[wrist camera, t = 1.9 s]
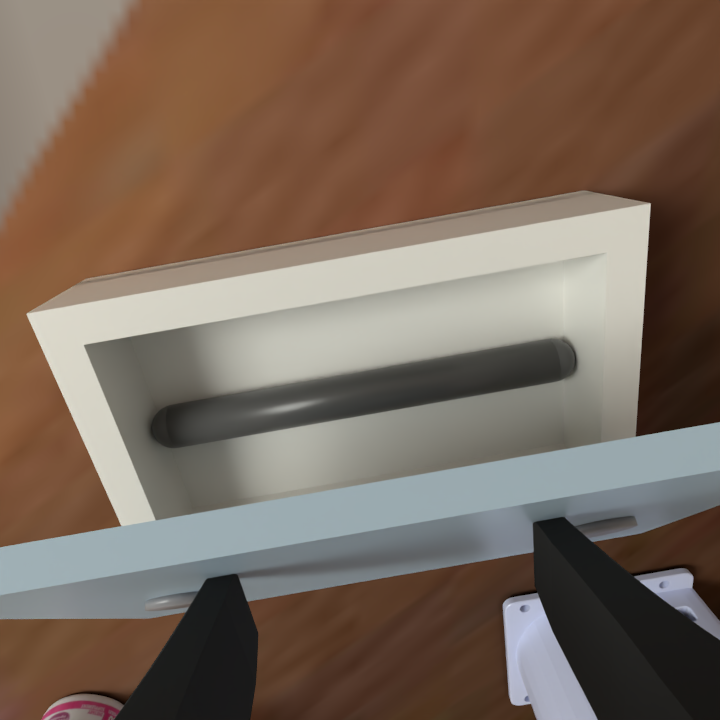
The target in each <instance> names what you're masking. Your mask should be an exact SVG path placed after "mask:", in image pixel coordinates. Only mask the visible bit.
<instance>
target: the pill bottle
mask: <svg viewBox="0 0 720 720" xmlns="http://www.w3.org/2000/svg"><path fill="white" fill-rule="evenodd" d="M123 706H124V705H123V704H122V703H120V702H118V701H117V700H114V699H112V698H109V697H106V696H101V695H95V694H75V695H70V696H67V697H64V698H62V699H60V700H58V701H56V702H55V703H54V704H52V705H51V706H50V707H49V709H48V710H47V711H46V713H45V715H44V716H43V718H42V720H114V719H115V717H116V716H117V714H118V713H119V712H120V710H121V709H122V708H123Z"/></svg>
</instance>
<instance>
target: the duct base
mask: <svg viewBox="0 0 720 720" xmlns="http://www.w3.org/2000/svg"><path fill="white" fill-rule="evenodd" d="M650 207H651V203H646V202H641V201H636V200H631V199H626V198H621V197H616V196H611V195H605V194H600V193H595V192H590V191H579V192H573V193H568V194H562V195H556V196H551V197H545V198H539V199H534V200H528V201H522V202H517V203H511V204H506V205H500V206H494V207H489V208H483V209H477V210H472V211H466V212H460V213H455V214H449V215H443V216H438V217H432V218H426V219H421V220H415V221H409V222H404V223H398V224H393V225H387V226H381V227H376V228H370V229H364V230H359V231H353V232H347V233H342V234H336V235H330V236H325V237H319V238H313V239H308V240H302V241H296V242H291V243H285V244H280V245H274V246H268V247H263V248H257V249H251V250H246V251H240V252H234V253H229V254H223V255H217V256H212V257H206V258H200V259H195V260H189V261H183V262H178V263H172V264H167V265H161V266H155V267H150V268H144V269H138V270H133V271H127V272H121V273H116V274H110V275H104V276H99V277H93V278H87V279H85V280H83V281H81V282H80V283H78V284H76V285H75V286H73V287H71V288H69V289H68V290H66V291H64V292H63V293H61V294H59V295H57V296H56V297H54V298H52V299H51V300H49V301H47V302H45V303H44V304H42V305H40V306H39V307H37V308H35V309H33V310H32V311H30V312H28V313H27V316H28V319H29V321H30V323H31V325H32V327H33V330H34V332H35V334H36V336H37V339H38V341H39V343H40V345H41V348H42V350H43V352H44V354H45V356H46V359H47V361H48V363H49V365H50V368H51V370H52V372H53V374H54V376H55V379H56V381H57V383H58V385H59V388H60V390H61V392H62V394H63V397H64V399H65V401H66V403H67V405H68V408H69V410H70V412H71V414H72V417H73V419H74V421H75V423H76V425H77V428H78V430H79V432H80V434H81V437H82V439H83V441H84V443H85V446H86V448H87V450H88V452H89V454H90V457H91V459H92V461H93V463H94V466H95V468H96V470H97V472H98V475H99V477H100V479H101V481H102V483H103V486H104V488H105V490H106V492H107V495H108V497H109V499H110V501H111V503H112V506H113V508H114V510H115V512H116V515H117V517H118V519H119V521H120V524H121V526H126V525H132V524H138V523H144V522H149V521H155V520H161V519H167V518H172V517H178V516H184V515H190V514H195V513H201V512H207V511H213V510H218V509H224V508H230V507H236V506H241V505H247V504H253V503H259V502H264V501H270V500H276V499H282V498H287V497H293V496H299V495H305V494H310V493H316V492H322V491H328V490H333V489H339V488H345V487H350V486H356V485H362V484H368V483H373V482H379V481H385V480H391V479H396V478H402V477H408V476H414V475H419V474H425V473H431V472H437V471H442V470H448V469H454V468H460V467H465V466H471V465H477V464H483V463H488V462H494V461H500V460H506V459H511V458H517V457H523V456H529V455H534V454H540V453H546V452H552V451H557V450H563V449H569V448H575V447H580V446H586V445H592V444H598V443H603V442H609V441H615V440H620V439H626V438H632V437H636V423H637V408H638V392H639V377H640V361H641V346H642V330H643V315H644V299H645V284H646V268H647V253H648V238H649V222H650Z"/></svg>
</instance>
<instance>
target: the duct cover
mask: <svg viewBox="0 0 720 720" xmlns="http://www.w3.org/2000/svg"><path fill="white" fill-rule="evenodd" d="M718 505H720V422H718V423H712V424H707V425H701V426H695V427H689V428H684V429H678V430H672V431H666V432H661V433H655V434H649V435H643V436H638V437H632V438H626V439H620V440H615V441H609V442H603V443H598V444H592V445H586V446H580V447H575V448H569V449H563V450H557V451H552V452H546V453H540V454H534V455H529V456H523V457H517V458H511V459H506V460H500V461H494V462H488V463H483V464H477V465H471V466H465V467H460V468H454V469H448V470H442V471H437V472H431V473H425V474H419V475H414V476H408V477H402V478H396V479H391V480H385V481H379V482H373V483H368V484H362V485H356V486H350V487H345V488H339V489H333V490H328V491H322V492H316V493H310V494H305V495H299V496H293V497H287V498H282V499H276V500H270V501H264V502H259V503H253V504H247V505H241V506H236V507H230V508H224V509H218V510H213V511H207V512H201V513H195V514H190V515H184V516H178V517H172V518H167V519H161V520H155V521H149V522H144V523H138V524H132V525H126V526H121V527H115V528H109V529H103V530H98V531H92V532H86V533H80V534H75V535H69V536H63V537H57V538H52V539H46V540H40V541H35V542H29V543H23V544H17V545H12V546H6V547H0V619H111V618H155V617H160V616H166V615H172V614H178V613H183V612H186V611H187V610H188V608H189V606H190V605H191V603H192V601H193V600H194V598H195V596H196V595H197V593H198V591H199V590H200V588H201V586H202V585H203V583H204V582H205V580H206V579H207V578H213V577H219V576H225V575H230V574H237V575H238V577H239V580H240V582H241V585H242V588H243V591H244V594H245V597H246V600H247V601H253V600H259V599H264V598H270V597H276V596H282V595H288V594H293V593H299V592H305V591H311V590H316V589H322V588H328V587H334V586H340V585H345V584H351V583H357V582H363V581H368V580H374V579H380V578H386V577H392V576H397V575H403V574H409V573H415V572H420V571H426V570H432V569H438V568H444V567H449V566H455V565H461V564H467V563H473V562H478V561H484V560H490V559H496V558H501V557H507V556H513V555H519V554H525V553H530V552H534V547H533V523H534V522H536V521H542V520H548V519H553V518H559V517H565V518H566V519H567V520H568V521H569V522H570V523H571V524H573V525H574V526H575V527H576V528H577V529H578V530H579V531H580V532H582V533H583V534H584V535H585V536H586V537H587V538H588V539H590V540H591V541H592V542H594V541H600V540H606V539H611V538H617V537H623V536H629V535H634V534H640V533H643V532H646V531H649V530H652V529H655V528H657V527H660V526H663V525H666V524H668V523H671V522H674V521H677V520H680V519H682V518H685V517H688V516H691V515H693V514H696V513H699V512H702V511H705V510H707V509H710V508H713V507H716V506H718Z"/></svg>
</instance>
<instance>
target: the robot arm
mask: <svg viewBox="0 0 720 720" xmlns="http://www.w3.org/2000/svg"><path fill="white" fill-rule="evenodd" d="M533 547H534V577H535V587H536V590H537V593H534V594H528V595H522V596H516V597H511V598H508V599H507V600H505V602H504V603H503V617H504V631H505V646H506V660H507V675H508V689H509V697H510V700H511V703H512V704H514V705H525V704H531V705H532V707H533V710H534V713H535V716H536V718H537V720H720V621H719V620H718V619H717V617H716V616H715V615H714V614H713V612H712V611H711V610H710V609H709V608H708V606H707V605H706V604H705V603H704V601H703V600H702V599H701V598H700V597H699V595H698V594H697V593H696V592H695V590H694V589H693V588H692V586H693V579H694V578H693V575H692V574H691V573H690V572H689V571H688V569H685V568H679V569H673V570H667V571H661V572H656V573H650V574H644V575H638V576H632V575H631V574H630V573H629V572H627V571H626V570H625V569H624V568H622V567H621V566H620V565H619V564H618V563H616V562H615V561H614V560H613V559H612V558H610V557H609V556H608V555H607V554H606V553H605V552H603V551H602V550H601V549H600V548H599V547H598V546H596V545H595V544H594V543H593V542H592V541H591V540H590V539H588V538H587V537H586V536H585V535H584V534H583V533H582V532H580V531H579V530H578V529H577V528H576V527H575V526H574V525H573V524H571V523H570V522H569V521H568V520H567V519H566V518H565V517H559V518H553V519H548V520H542V521H536V522H534V523H533ZM257 652H258V631H257V628H256V625H255V623H254V620H253V617H252V614H251V611H250V608H249V605H248V602H247V600H246V597H245V594H244V591H243V588H242V585H241V582H240V580H239V577H238V575H237V574H230V575H225V576H219V577H213V578H207V579H206V580H205V582H204V583H203V585H202V586H201V588H200V590H199V591H198V593H197V595H196V596H195V598H194V600H193V601H192V603H191V605H190V606H189V608H188V610H187V611H186V613H185V614H184V616H183V618H182V619H181V621H180V623H179V624H178V626H177V627H176V629H175V631H174V632H173V634H172V635H171V637H170V638H169V640H168V641H167V643H166V645H165V646H164V648H163V649H162V651H161V652H160V654H159V655H158V657H157V658H156V660H155V661H154V663H153V665H152V666H151V668H150V669H149V671H148V672H147V673H146V675H145V676H144V678H143V679H142V681H141V682H140V683H139V685H138V686H137V688H136V689H135V691H134V692H133V693H132V695H131V696H130V698H129V699H128V700H127V702H126V703H125V705H124V706H123V708H122V709H121V710H120V712H119V713H118V714H117V716H116V717H115V719H114V720H250V717H251V711H252V704H253V698H254V691H255V685H256V671H257Z"/></svg>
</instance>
